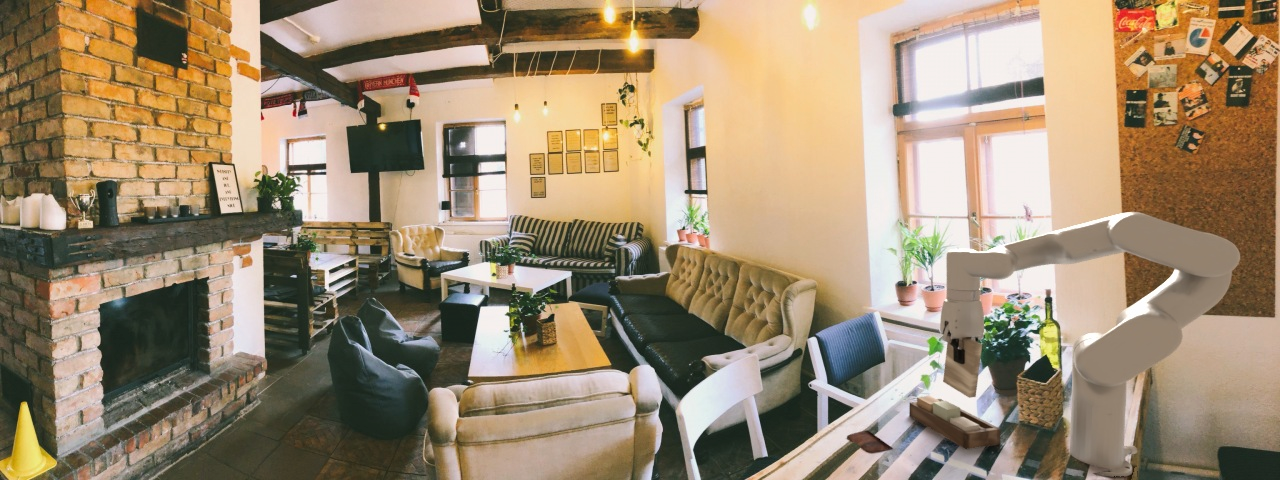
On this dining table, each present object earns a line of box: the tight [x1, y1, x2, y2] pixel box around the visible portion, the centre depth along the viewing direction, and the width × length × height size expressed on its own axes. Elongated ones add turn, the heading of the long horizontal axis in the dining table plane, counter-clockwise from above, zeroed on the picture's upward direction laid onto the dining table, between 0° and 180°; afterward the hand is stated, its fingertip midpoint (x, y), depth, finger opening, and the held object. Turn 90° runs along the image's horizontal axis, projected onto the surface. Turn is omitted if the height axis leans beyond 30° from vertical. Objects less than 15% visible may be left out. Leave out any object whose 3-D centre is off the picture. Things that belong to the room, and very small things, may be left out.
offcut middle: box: [933, 400, 961, 423], centre depth 136 cm, size 4×5×7 cm
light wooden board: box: [942, 337, 983, 399], centre depth 136 cm, size 2×9×15 cm, turn 10°
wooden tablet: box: [846, 430, 893, 454], centre depth 137 cm, size 26×2×10 cm
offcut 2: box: [950, 417, 979, 432], centre depth 131 cm, size 4×5×5 cm
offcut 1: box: [916, 395, 940, 413], centre depth 142 cm, size 4×5×6 cm
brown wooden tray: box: [908, 398, 1002, 450], centre depth 137 cm, size 10×20×6 cm, turn 10°
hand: (963, 361), depth 136 cm, fingers closed on light wooden board, 1 cm apart
